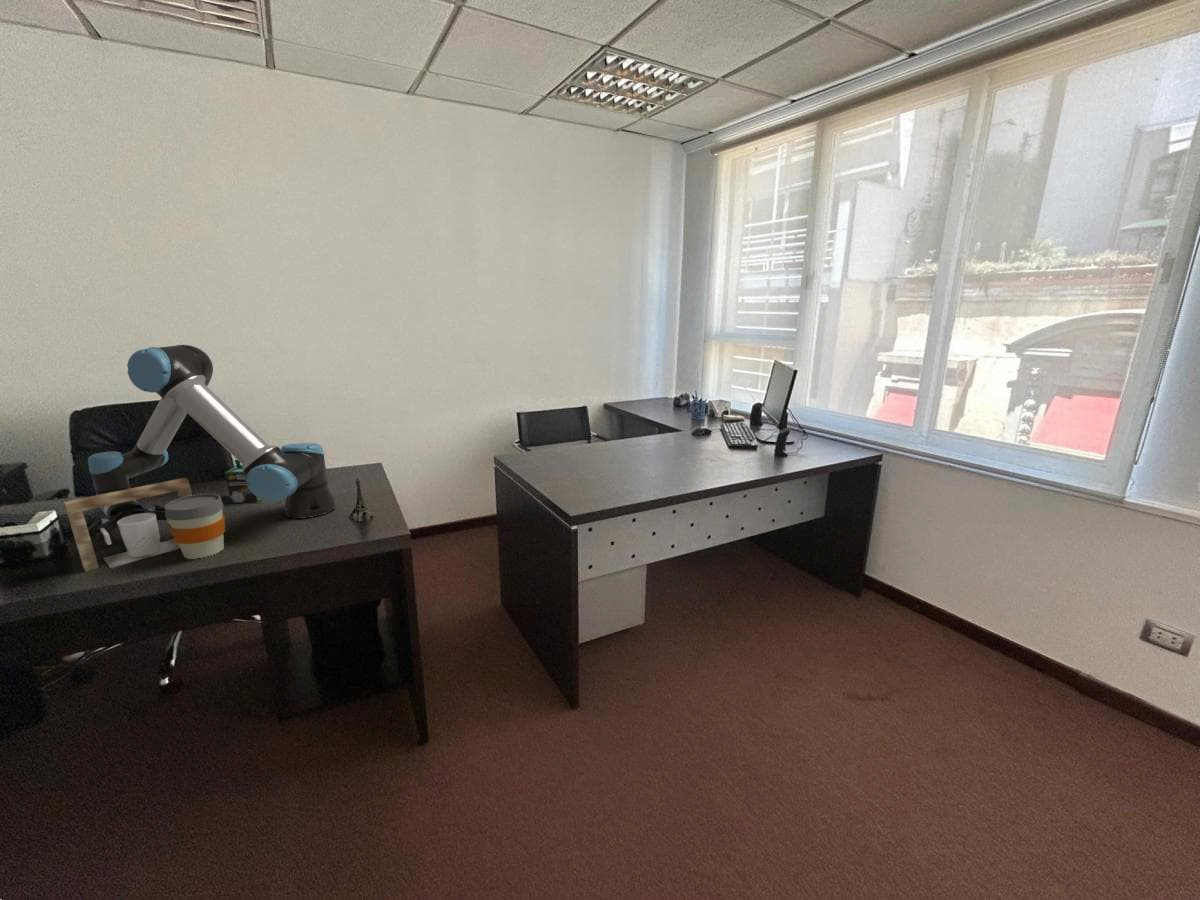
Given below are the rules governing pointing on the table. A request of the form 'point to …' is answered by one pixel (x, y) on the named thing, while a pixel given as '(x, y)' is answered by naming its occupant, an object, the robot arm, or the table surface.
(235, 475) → the chalk box
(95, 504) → the bridge
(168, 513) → the reusable coffee cup
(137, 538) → the white cup
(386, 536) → the table surface
